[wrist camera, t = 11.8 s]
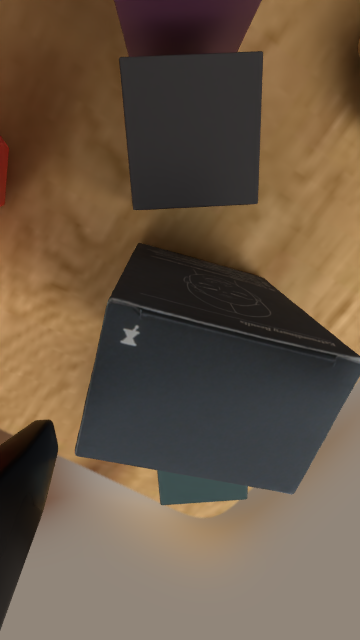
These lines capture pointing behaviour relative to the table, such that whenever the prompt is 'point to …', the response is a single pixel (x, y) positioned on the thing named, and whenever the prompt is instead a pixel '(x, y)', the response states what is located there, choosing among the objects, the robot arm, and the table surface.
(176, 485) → the block
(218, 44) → the block
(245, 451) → the box
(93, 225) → the table surface
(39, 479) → the robot arm
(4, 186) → the apple
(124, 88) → the block
